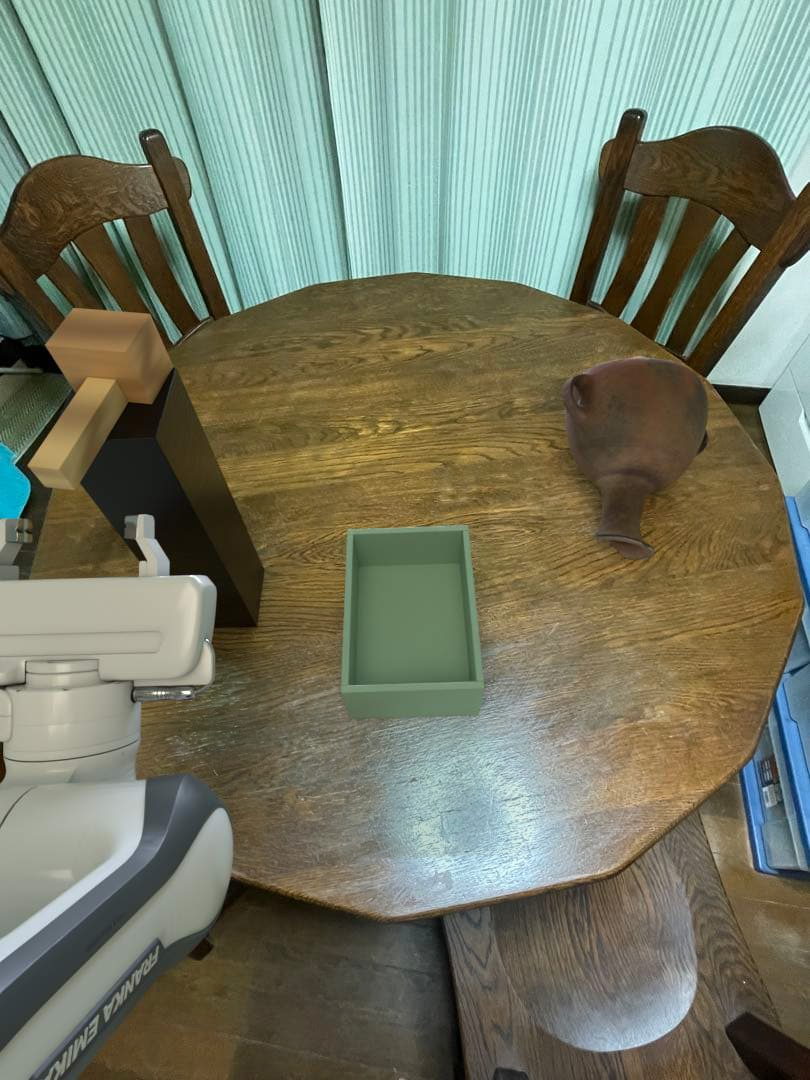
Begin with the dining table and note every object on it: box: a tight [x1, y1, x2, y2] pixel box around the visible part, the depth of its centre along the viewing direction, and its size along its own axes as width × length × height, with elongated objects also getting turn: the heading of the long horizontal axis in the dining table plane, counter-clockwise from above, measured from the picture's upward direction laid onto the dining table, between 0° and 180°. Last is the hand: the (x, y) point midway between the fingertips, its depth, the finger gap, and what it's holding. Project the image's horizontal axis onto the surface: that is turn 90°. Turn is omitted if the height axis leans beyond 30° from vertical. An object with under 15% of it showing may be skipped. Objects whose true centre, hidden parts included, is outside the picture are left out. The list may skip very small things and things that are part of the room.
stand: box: [57, 366, 265, 629], centre depth 67 cm, size 9×9×36 cm
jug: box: [561, 355, 709, 561], centre depth 83 cm, size 20×20×30 cm
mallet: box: [27, 307, 174, 491], centre depth 48 cm, size 15×7×6 cm, turn 171°
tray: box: [340, 524, 486, 720], centre depth 74 cm, size 22×16×10 cm
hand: (78, 517), depth 45 cm, fingers open, 8 cm apart
